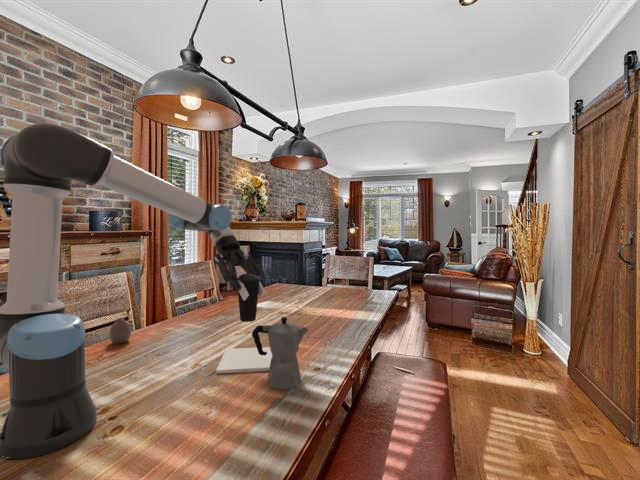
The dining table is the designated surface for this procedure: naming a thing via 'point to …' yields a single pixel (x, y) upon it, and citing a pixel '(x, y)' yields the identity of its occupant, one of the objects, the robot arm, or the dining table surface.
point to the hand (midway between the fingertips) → (254, 295)
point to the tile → (244, 360)
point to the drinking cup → (252, 287)
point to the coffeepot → (282, 353)
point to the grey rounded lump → (120, 331)
